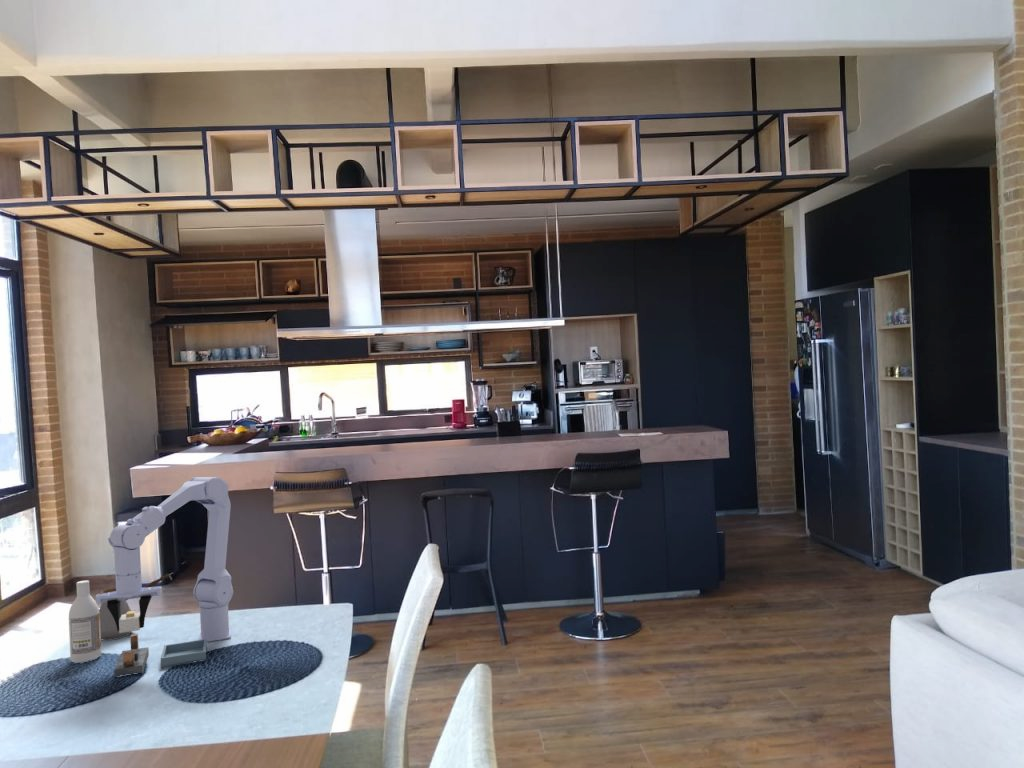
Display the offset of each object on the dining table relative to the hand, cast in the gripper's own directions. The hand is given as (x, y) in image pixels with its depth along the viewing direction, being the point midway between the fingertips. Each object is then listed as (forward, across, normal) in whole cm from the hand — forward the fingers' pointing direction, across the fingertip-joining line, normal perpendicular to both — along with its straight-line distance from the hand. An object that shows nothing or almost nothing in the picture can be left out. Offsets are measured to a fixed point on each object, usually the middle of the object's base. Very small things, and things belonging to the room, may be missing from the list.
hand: (130, 628), depth 190 cm
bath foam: (+10, -12, +12) cm, 20 cm away
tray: (+9, +12, 0) cm, 15 cm away
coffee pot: (+10, -3, +33) cm, 34 cm away
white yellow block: (0, 0, 0) cm, 0 cm away
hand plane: (+9, 0, 0) cm, 9 cm away
